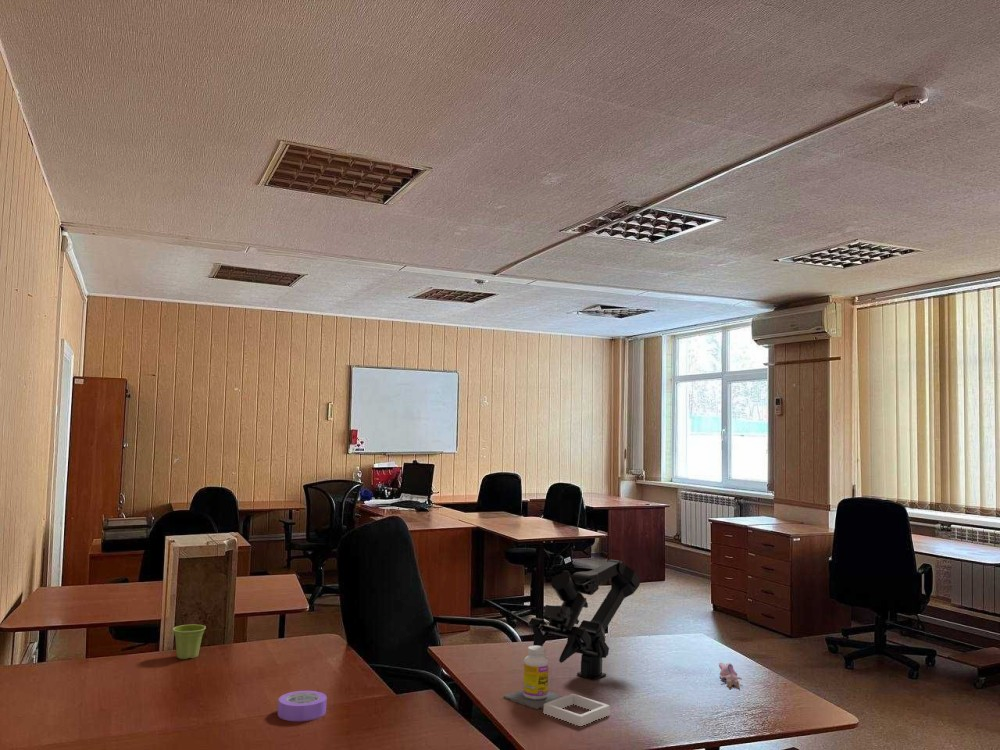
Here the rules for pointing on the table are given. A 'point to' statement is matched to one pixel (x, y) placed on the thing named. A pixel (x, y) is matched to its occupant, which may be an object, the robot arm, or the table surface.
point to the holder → (596, 713)
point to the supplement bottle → (535, 674)
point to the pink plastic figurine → (729, 674)
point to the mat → (532, 703)
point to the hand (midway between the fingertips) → (546, 658)
